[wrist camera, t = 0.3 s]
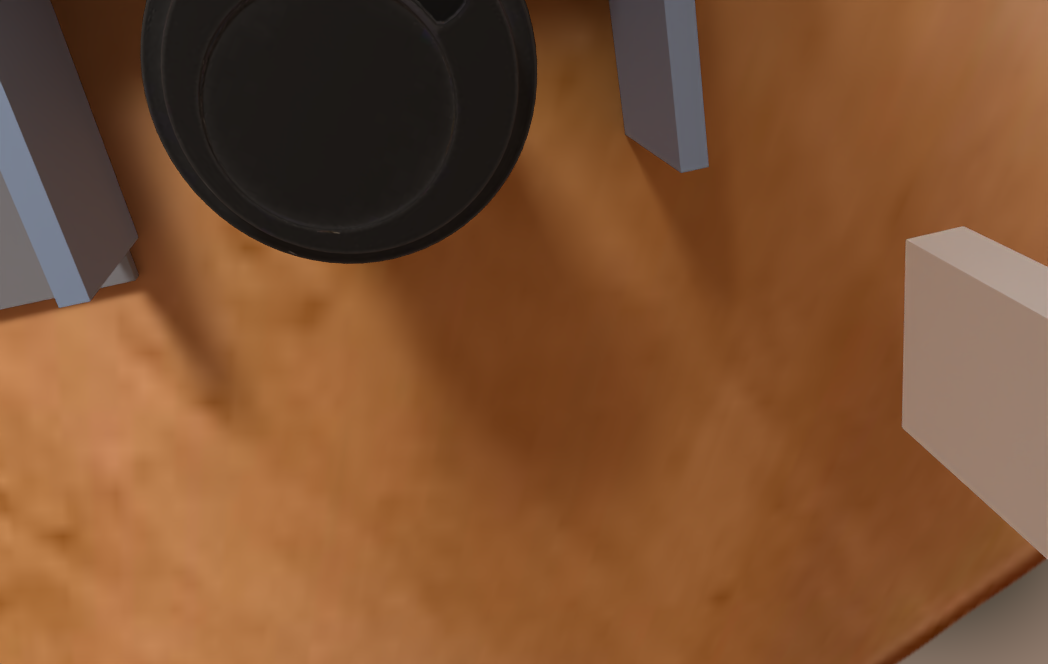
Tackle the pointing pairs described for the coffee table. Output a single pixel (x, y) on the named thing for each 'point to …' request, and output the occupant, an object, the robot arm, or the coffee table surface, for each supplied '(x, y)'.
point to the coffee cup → (341, 115)
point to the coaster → (33, 260)
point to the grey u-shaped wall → (94, 193)
